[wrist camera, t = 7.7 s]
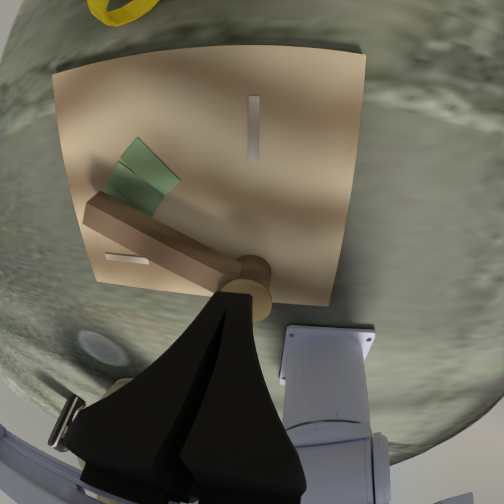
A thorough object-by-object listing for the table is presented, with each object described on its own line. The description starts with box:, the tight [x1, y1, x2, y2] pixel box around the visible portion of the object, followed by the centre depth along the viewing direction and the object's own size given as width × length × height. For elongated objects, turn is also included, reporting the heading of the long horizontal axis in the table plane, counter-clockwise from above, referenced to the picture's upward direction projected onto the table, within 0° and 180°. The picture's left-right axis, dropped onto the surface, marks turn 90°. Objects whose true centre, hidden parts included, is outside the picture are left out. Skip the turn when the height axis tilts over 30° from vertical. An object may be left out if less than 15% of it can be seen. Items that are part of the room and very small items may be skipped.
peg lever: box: [82, 191, 272, 323], centre depth 20 cm, size 14×3×4 cm, turn 62°
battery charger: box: [48, 395, 86, 452], centre depth 43 cm, size 7×4×11 cm, turn 138°
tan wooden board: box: [52, 45, 366, 307], centre depth 20 cm, size 18×20×1 cm
